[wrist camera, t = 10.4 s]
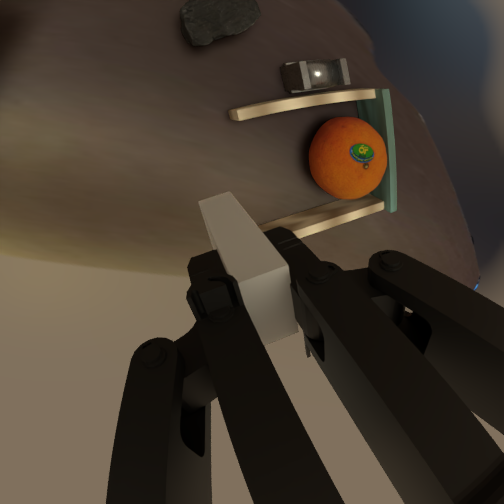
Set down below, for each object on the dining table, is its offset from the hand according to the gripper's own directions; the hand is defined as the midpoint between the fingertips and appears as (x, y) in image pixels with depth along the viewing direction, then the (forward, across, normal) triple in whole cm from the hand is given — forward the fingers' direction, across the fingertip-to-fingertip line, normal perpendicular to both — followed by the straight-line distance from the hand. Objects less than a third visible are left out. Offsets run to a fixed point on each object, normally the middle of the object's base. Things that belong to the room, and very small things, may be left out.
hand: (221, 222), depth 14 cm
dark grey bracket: (+22, +17, +6) cm, 28 cm away
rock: (+23, +8, +16) cm, 29 cm away
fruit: (+22, +19, -5) cm, 30 cm away
